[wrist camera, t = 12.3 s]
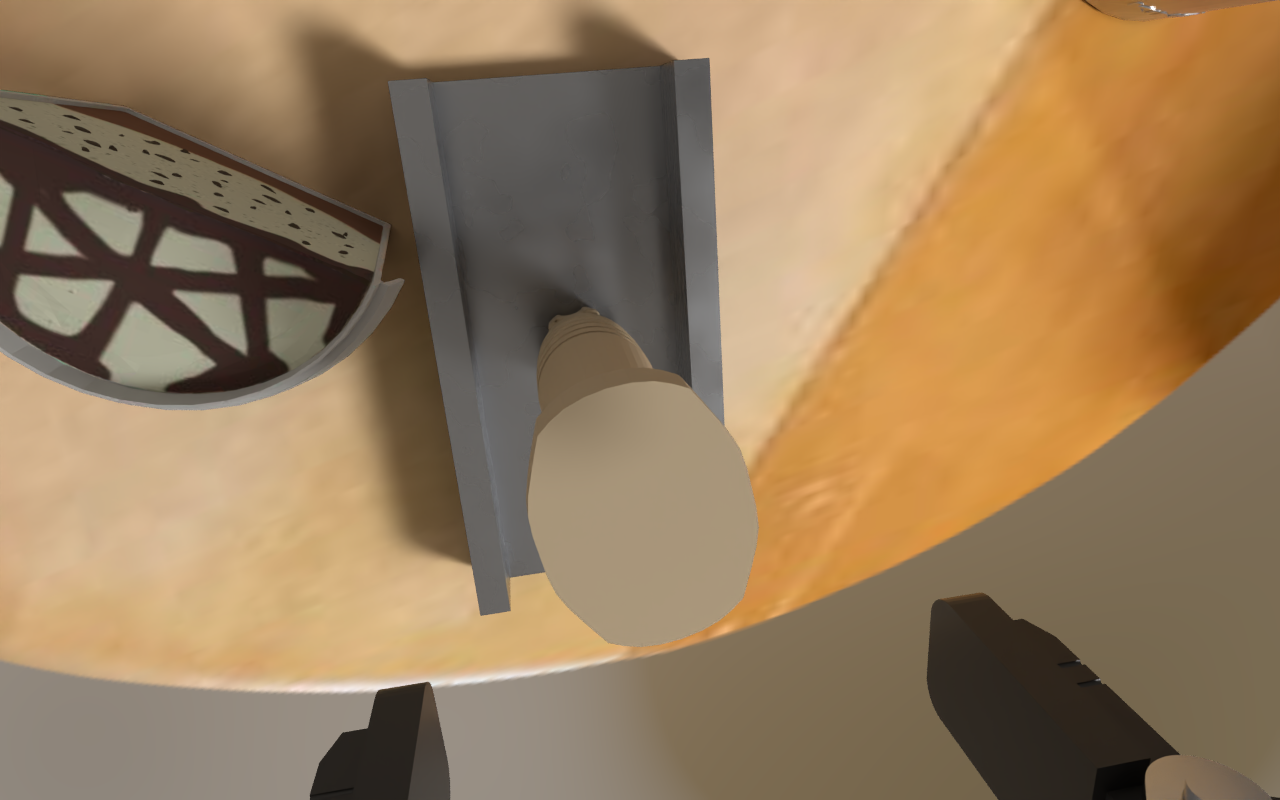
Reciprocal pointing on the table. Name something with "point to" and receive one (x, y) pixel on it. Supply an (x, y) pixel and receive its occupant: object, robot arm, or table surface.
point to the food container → (172, 262)
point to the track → (554, 256)
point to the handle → (634, 490)
